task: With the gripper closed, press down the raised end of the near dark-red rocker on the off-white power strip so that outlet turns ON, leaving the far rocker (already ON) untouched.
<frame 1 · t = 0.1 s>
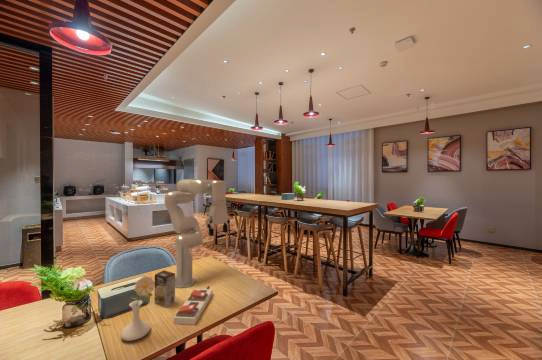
hand: (218, 234, 130), 37 cm above the table, tool pointing down, fingers open, 9 cm apart
far rocker: (198, 294, 128), point 5 cm above the table, hinge at 12.0°
power strip: (195, 307, 124), on the table
flower in vase: (138, 334, 103), on the table
near rocker: (187, 309, 114), point 5 cm above the table, hinge at -12.0°
coffee box: (164, 303, 128), on the table
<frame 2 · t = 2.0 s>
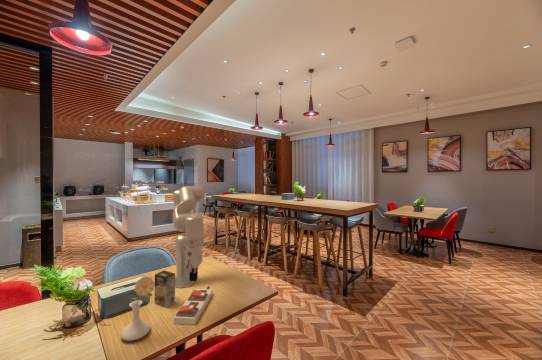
hand: (193, 280, 114), 19 cm above the table, tool pointing down, fingers closed
nothing on the table moved.
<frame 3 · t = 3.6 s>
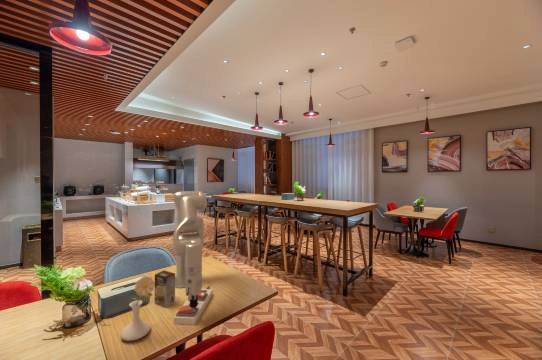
hand: (193, 306, 114), 6 cm above the table, tool pointing down, fingers closed
near rocker: (187, 309, 114), point 5 cm above the table, hinge at -12.0°, touching gripper
everything else where it was.
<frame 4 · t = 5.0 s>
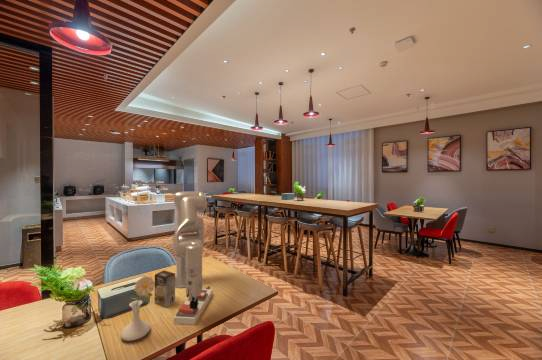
hand: (193, 308, 114), 6 cm above the table, tool pointing down, fingers closed
near rocker: (187, 309, 114), point 5 cm above the table, hinge at 7.1°
everything else where it was.
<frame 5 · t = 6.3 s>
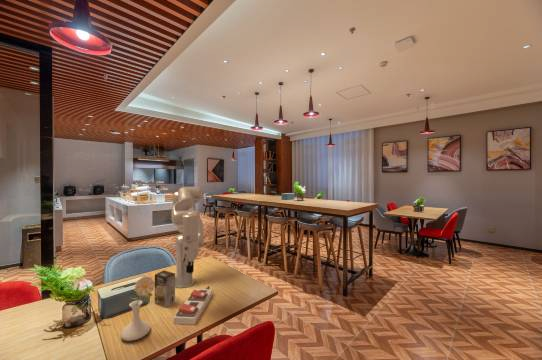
hand: (189, 272, 123), 19 cm above the table, tool pointing down, fingers closed
near rocker: (187, 309, 114), point 5 cm above the table, hinge at 10.4°
everything else where it was.
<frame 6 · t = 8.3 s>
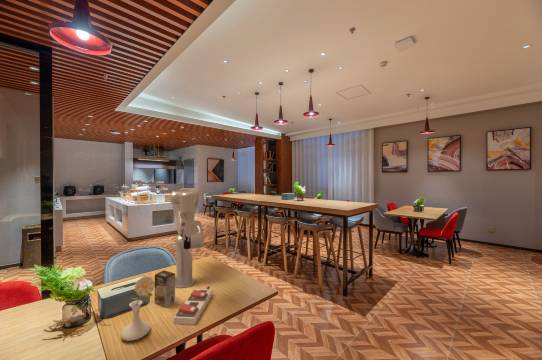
hand: (187, 248, 130), 29 cm above the table, tool pointing down, fingers closed
near rocker: (187, 309, 114), point 5 cm above the table, hinge at 12.2°
everything else where it was.
at the end: near rocker at +12° (first picture: -12°); far rocker at +12° (first picture: +12°); coffee box moved 0.2 cm from its start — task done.
